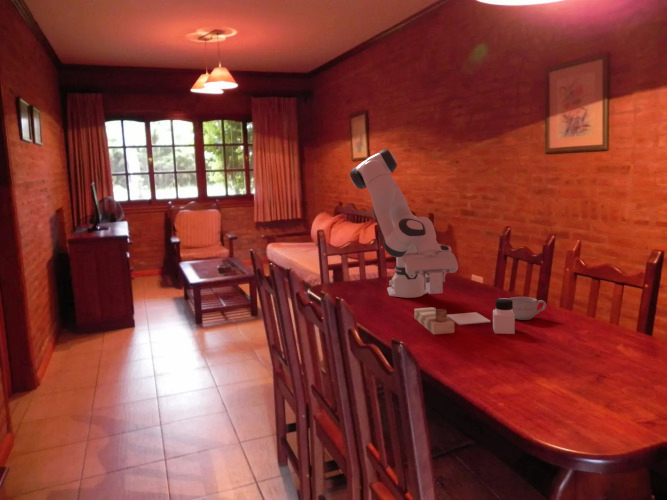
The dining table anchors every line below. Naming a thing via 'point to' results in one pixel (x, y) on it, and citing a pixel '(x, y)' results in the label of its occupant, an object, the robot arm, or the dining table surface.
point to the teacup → (526, 307)
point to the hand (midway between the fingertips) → (434, 281)
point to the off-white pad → (468, 318)
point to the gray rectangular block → (434, 281)
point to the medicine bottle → (504, 317)
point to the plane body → (434, 320)
